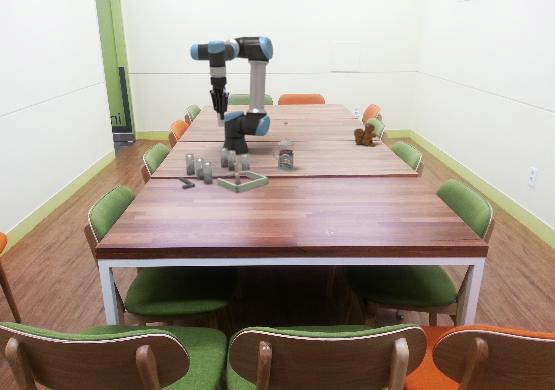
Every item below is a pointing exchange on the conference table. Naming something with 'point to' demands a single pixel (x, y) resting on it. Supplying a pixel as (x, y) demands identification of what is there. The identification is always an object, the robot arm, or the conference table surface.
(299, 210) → the conference table surface
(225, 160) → the set of silver pegs
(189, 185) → the hook bar
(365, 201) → the conference table surface
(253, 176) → the corral
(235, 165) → the beige rod cross
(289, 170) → the french press
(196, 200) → the conference table surface
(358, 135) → the stuffed squirrel
